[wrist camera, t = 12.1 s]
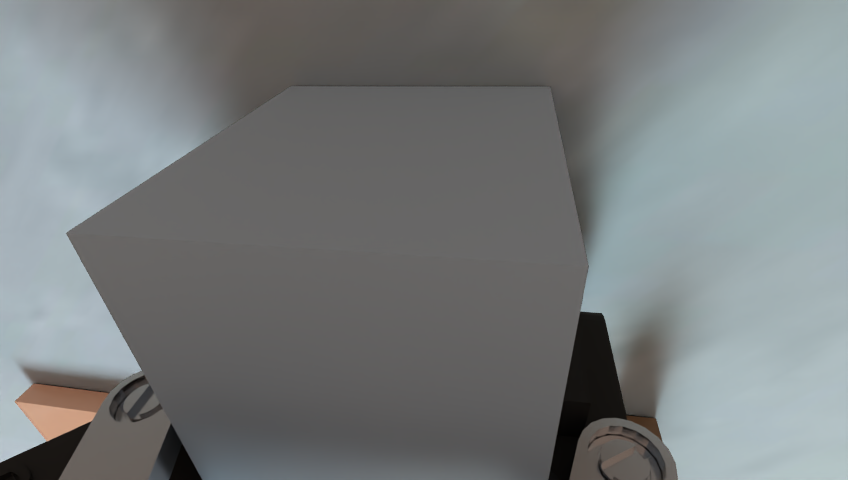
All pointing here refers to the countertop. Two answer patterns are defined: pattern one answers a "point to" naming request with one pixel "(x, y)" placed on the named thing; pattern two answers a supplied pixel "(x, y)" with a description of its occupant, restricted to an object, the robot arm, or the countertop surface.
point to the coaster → (59, 408)
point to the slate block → (356, 285)
